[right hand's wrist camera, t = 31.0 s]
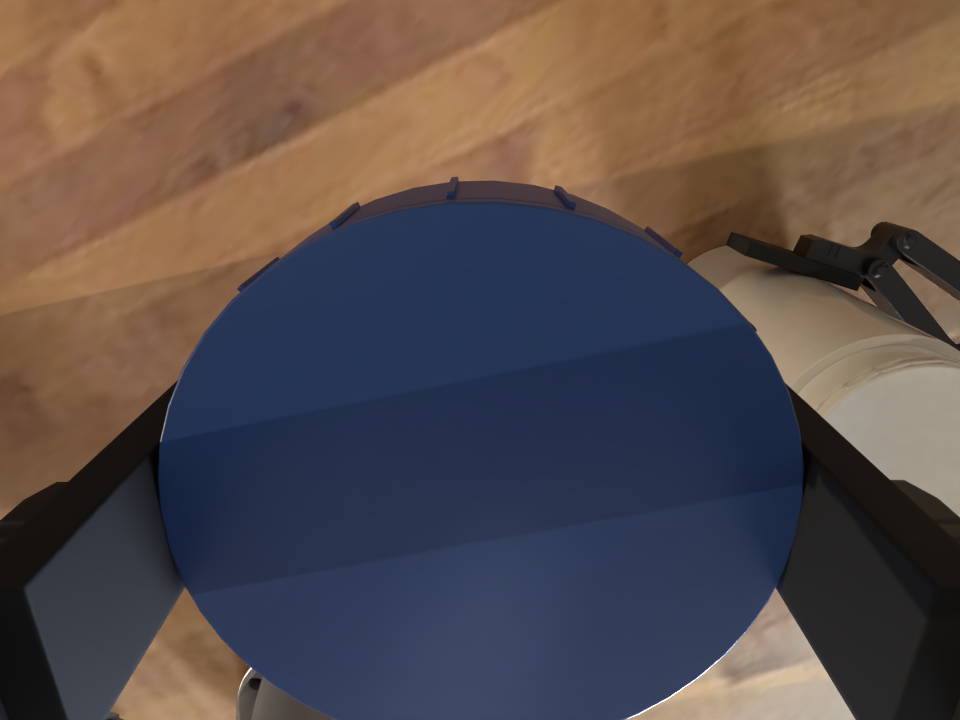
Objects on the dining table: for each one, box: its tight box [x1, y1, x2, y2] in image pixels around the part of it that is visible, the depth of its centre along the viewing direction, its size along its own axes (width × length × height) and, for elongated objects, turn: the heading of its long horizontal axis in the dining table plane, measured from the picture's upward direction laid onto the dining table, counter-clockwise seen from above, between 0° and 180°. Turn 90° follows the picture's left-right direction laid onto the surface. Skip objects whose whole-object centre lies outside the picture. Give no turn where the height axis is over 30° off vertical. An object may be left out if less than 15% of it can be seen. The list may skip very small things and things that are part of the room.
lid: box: [158, 177, 804, 720], centre depth 11 cm, size 10×10×2 cm
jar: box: [687, 246, 960, 517], centre depth 34 cm, size 9×9×19 cm
